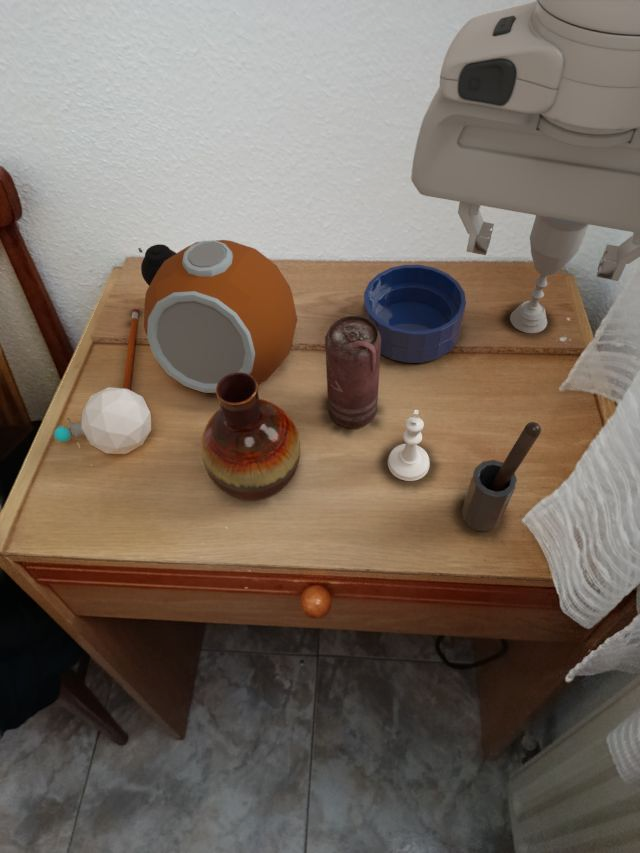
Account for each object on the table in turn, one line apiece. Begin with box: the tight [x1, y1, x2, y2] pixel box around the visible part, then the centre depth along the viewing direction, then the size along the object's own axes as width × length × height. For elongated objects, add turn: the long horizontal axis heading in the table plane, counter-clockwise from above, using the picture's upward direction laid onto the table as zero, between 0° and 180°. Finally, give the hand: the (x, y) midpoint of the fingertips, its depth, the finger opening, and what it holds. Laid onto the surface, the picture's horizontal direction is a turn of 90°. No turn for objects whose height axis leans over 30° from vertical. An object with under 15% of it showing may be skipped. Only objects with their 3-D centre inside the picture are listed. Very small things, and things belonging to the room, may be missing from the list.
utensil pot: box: [461, 459, 518, 532], centre depth 63 cm, size 4×4×8 cm
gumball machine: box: [138, 243, 177, 287], centre depth 84 cm, size 7×6×10 cm
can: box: [324, 315, 381, 429], centre depth 70 cm, size 6×6×14 cm
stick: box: [488, 421, 542, 492], centre depth 59 cm, size 1×1×16 cm
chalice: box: [509, 215, 589, 334], centre depth 76 cm, size 7×7×18 cm
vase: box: [200, 372, 301, 501], centre depth 65 cm, size 11×11×15 cm
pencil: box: [122, 308, 140, 390], centre depth 81 cm, size 1×19×1 cm, turn 6°
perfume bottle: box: [53, 386, 152, 455], centre depth 71 cm, size 8×8×12 cm
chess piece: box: [387, 409, 431, 482], centre depth 66 cm, size 5×5×10 cm
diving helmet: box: [143, 239, 298, 394], centre depth 74 cm, size 19×18×17 cm
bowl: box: [363, 264, 467, 364], centre depth 81 cm, size 13×13×6 cm
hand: (541, 261), depth 44 cm, fingers open, 8 cm apart
